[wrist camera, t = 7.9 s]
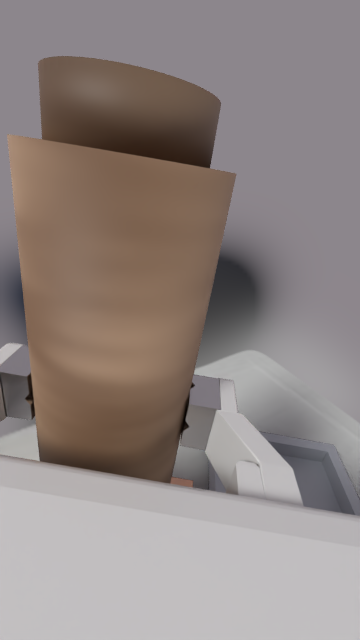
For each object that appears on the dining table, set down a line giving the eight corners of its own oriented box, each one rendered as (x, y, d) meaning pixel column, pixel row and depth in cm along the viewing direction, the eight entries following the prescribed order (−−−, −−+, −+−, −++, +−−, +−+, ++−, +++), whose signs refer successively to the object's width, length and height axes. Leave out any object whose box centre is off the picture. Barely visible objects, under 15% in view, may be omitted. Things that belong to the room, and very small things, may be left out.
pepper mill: (158, 520, 17) (238, 126, 8) (142, 638, 13) (272, 75, 4) (75, 505, 17) (68, 97, 8) (31, 618, 13) (-81, 14, 4)
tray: (324, 461, 30) (333, 444, 29) (459, 793, 14) (494, 786, 13) (208, 440, 30) (213, 423, 29) (211, 750, 14) (223, 738, 13)
